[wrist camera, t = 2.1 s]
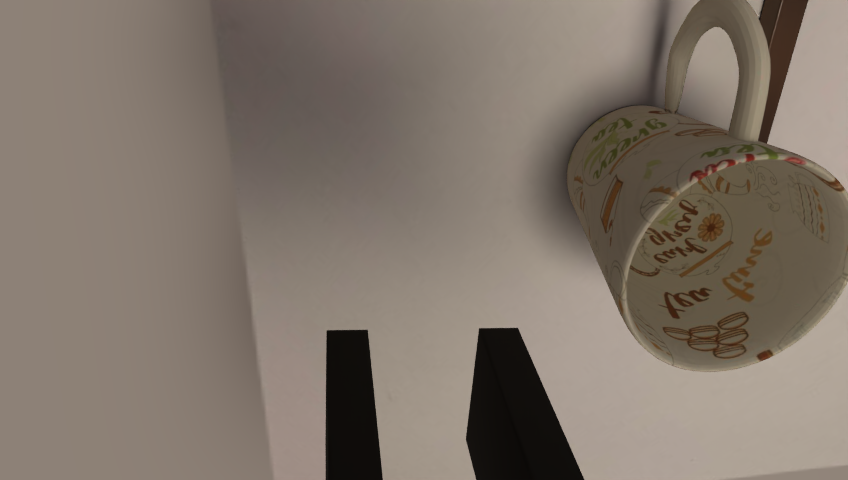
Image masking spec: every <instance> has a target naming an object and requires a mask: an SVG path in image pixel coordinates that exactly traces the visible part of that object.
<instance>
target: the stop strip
mask: <svg viewBox="0 0 848 480" xmlns="http://www.w3.org/2000/svg"><path fill="white" fill-rule="evenodd" d="M807 2H808V0H765V3H764V7H763V10H762V14H761V18H760V24H761V26H762V28H763V31H764V34H765V37H766V40H767V44H768V49H769V55H770V64H771V75H770V83H769V90H768V96H767V101H766V106H765V111H764V116H763V120H762V125H761V129H760V134H759V138H758V141H760V142H763V143H766V144H767V141H768V137H769V134H770V131H771V127H772V124H773V120H774V117H775V113H776V110H777V106H778V103H779V99H780V96H781V92H782V89H783V85H784V82H785V78H786V75H787V72H788V68H789V65H790V61H791V58H792V54H793V51H794V47H795V44H796V40H797V37H798V33H799V30H800V26H801V23H802V19H803V16H804V13H805V9H806V6H807Z"/></svg>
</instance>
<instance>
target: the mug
mask: <svg viewBox="0 0 848 480" xmlns="http://www.w3.org/2000/svg"><path fill="white" fill-rule="evenodd" d="M713 27H721V28H722V29H724V30H725V31H726V33H727V34H728V35H729V37H730V39H731V40H732V43H733V46H734V49H735V52H736V55H737V61H738V66H739V84H738V91H737V96H736V102H735V106H734V111H733V115H732V120H731V125H730V129H729V131H727V130H724V129H721V128H718V127H716V126H713V125H710V124H707V123H704V122H701V121H698V120H695V119H692V118H689V117H686V116H683V115H680V114H677V110H678V107H679V104H680V100H681V96H682V92H683V87H684V82H685V78H686V73H687V69H688V65H689V62H690V58H691V56H692V53H693V51H694V48H695V46H696V44H697V42H698V40H699V39H700V37H701V36H702V35H703V34H704V33H705V32H706V31H708V30H709V29H711V28H713ZM770 75H771V64H770V55H769V49H768V44H767V40H766V37H765V34H764V31H763V28H762V26H761V24H760V21H759V19H758V17H757V15H756V13H755V11H754V10H753V8H752V7H751V5H750V4H749V3H748V2H747V1H746V0H700V1H699V2H698V3H697V4H696V5H695V6H694V7H693V8H692V9H691V11H690V12H689V14H688V15H687V17H686V19H685V20H684V22H683V24H682V26H681V28H680V30H679V32H678V33H677V35H676V37H675V40H674V42H673V44H672V46H671V49H670V53H669V59H668V66H667V77H666V89H665V109H661V108H658V107H653V106H644V105H640V106H630V107H625V108H621V109H618V110H615V111H613V112H611V113H609V114H607V115H605V116H603V117H602V118H600V119H599V120H597V121H596V122H595V123H594V124H592V125H591V126H590V127H589V128H588V129H587V130H586V132H585V133H584V134H583V135H582V136H581V138H580V139H579V141H578V142H577V144H576V145H575V147H574V149H573V151H572V154H571V156H570V160H569V163H568V169H567V187H568V192H569V196H570V198H571V201H572V204H573V206H574V208H575V211H576V213H577V215H578V218H579V220H580V222H581V225H582V227H583V229H584V231H585V234H586V236H587V238H588V241H589V243H590V245H591V247H592V250H593V252H594V254H595V257H596V259H597V261H598V264H599V266H600V268H601V270H602V273H603V275H604V277H605V280H606V282H607V284H608V287H609V289H610V291H611V293H612V296H613V298H614V300H615V303H616V305H617V307H618V310H619V312H620V314H621V316H622V318H623V320H624V322H625V324H626V325H627V327H628V329H629V330H630V332H631V333H632V335H633V336H634V337H635V339H636V340H637V341H638V342H639V343H640V344H641V345H642V346H643V348H644V349H646V350H647V351H648V352H649V353H651V354H652V355H653V356H655V357H656V358H658V359H660V360H661V361H663V362H665V363H667V364H670V365H672V366H675V367H678V368H682V369H686V370H691V371H700V372H717V371H727V370H733V369H738V368H742V367H746V366H749V365H752V364H755V363H758V362H760V361H763V360H765V359H768V358H770V357H772V356H774V355H776V354H778V353H780V352H781V351H783V350H785V349H786V348H788V347H790V346H791V345H793V344H794V343H795V342H797V341H798V340H799V339H801V338H802V337H803V336H805V335H806V334H807V333H808V332H809V331H811V330H812V329H813V328H814V327H815V326H816V325H817V324H818V323H819V322H820V321H821V320H822V319H823V317H824V316H825V315H826V314H827V313H828V312H829V310H830V309H831V308H832V307H833V305H834V304H835V302H836V301H837V299H838V298H839V296H840V295H841V293H842V291H843V289H844V288H845V286H846V284H847V282H848V193H847V191H846V190H845V189H844V187H843V186H842V185H841V183H840V182H839V181H838V180H837V179H836V178H835V177H834V176H833V175H832V174H831V173H829V172H828V171H827V170H826V169H824V168H823V167H821V166H820V165H818V164H816V163H815V162H813V161H811V160H809V159H807V158H804V157H802V156H800V155H798V154H795V153H792V152H789V151H787V150H784V149H781V148H778V147H775V146H772V145H769V144H766V143H763V142H760V141H758V138H759V134H760V129H761V125H762V120H763V116H764V111H765V106H766V101H767V96H768V90H769V83H770Z"/></svg>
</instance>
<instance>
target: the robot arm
mask: <svg viewBox="0 0 848 480" xmlns="http://www.w3.org/2000/svg"><path fill="white" fill-rule="evenodd" d="M466 441H467V445H468V449H469V453H470V457H471V461H472V464H473V468H474V472H475V476H476V480H584V478H583V476H582V473H581V471H580V469H579V467H578V464H577V462H576V460H575V457H574V455H573V453H572V451H571V448H570V446H569V444H568V441H567V439H566V437H565V435H564V432H563V430H562V428H561V426H560V423H559V421H558V419H557V416H556V414H555V412H554V410H553V407H552V405H551V403H550V400H549V398H548V396H547V394H546V391H545V389H544V387H543V385H542V382H541V380H540V378H539V375H538V373H537V371H536V369H535V366H534V364H533V362H532V359H531V357H530V355H529V353H528V350H527V348H526V346H525V343H524V341H523V339H522V337H521V334H520V332H519V330H518V328H479V334H478V343H477V351H476V360H475V368H474V376H473V385H472V393H471V401H470V410H469V418H468V427H467V435H466ZM326 480H383V478H382V468H381V458H380V448H379V438H378V428H377V418H376V408H375V398H374V388H373V378H372V369H371V359H370V349H369V339H368V330H327V352H326Z"/></svg>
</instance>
